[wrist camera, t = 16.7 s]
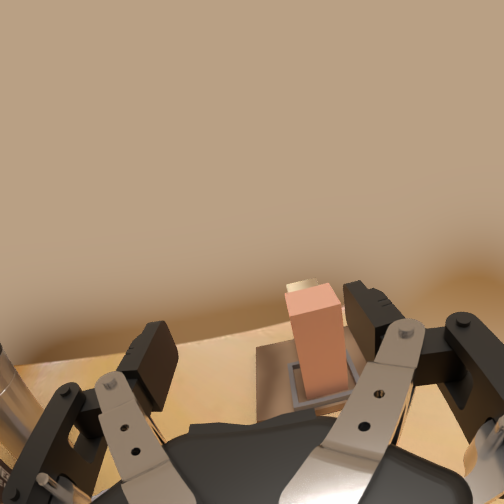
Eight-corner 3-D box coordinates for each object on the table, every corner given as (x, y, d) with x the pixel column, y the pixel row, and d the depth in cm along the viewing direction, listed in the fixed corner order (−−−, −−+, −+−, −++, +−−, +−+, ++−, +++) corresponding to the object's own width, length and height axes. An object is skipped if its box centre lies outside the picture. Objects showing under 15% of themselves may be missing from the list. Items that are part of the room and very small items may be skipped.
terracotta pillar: (307, 399, 30) (289, 316, 26) (301, 373, 35) (284, 293, 31) (348, 389, 29) (340, 303, 26) (338, 363, 34) (328, 282, 31)
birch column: (302, 360, 37) (289, 298, 34) (298, 343, 41) (286, 284, 38) (330, 353, 37) (321, 290, 34) (325, 337, 40) (315, 277, 38)
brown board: (259, 427, 29) (256, 421, 28) (257, 353, 43) (256, 347, 43) (384, 396, 28) (385, 390, 27) (351, 331, 42) (350, 324, 42)
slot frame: (294, 412, 28) (293, 407, 28) (288, 367, 36) (287, 363, 36) (364, 394, 28) (364, 389, 28) (347, 353, 36) (346, 348, 35)
